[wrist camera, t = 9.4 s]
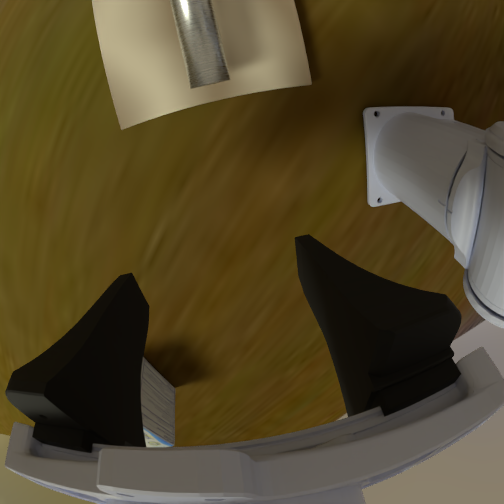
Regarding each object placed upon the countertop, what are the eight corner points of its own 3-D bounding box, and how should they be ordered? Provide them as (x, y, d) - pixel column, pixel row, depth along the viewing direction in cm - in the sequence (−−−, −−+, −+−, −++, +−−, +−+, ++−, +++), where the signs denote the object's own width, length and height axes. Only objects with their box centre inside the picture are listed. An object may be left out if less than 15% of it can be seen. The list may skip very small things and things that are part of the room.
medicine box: (113, 359, 28) (101, 423, 21) (143, 354, 28) (135, 423, 21) (148, 391, 33) (144, 448, 25) (176, 387, 32) (175, 447, 25)
